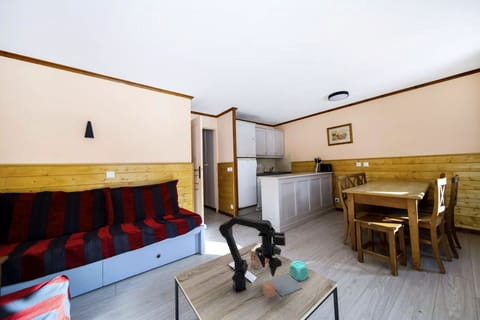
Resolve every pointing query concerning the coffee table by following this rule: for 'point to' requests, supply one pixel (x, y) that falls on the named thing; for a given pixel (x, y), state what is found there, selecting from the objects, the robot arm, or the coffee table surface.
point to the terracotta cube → (268, 289)
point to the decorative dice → (298, 270)
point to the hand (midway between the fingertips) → (268, 271)
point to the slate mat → (285, 285)
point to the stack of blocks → (256, 258)
